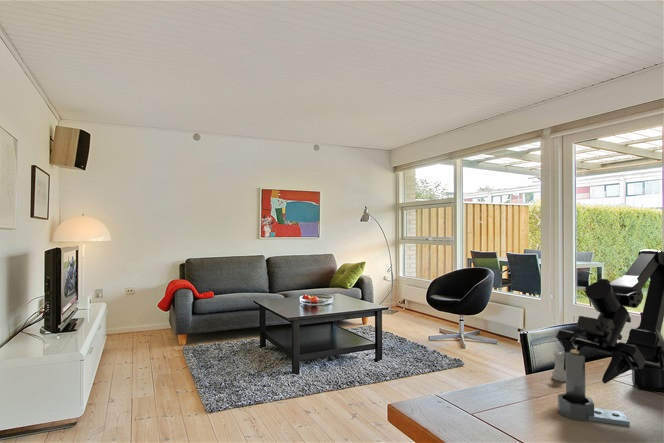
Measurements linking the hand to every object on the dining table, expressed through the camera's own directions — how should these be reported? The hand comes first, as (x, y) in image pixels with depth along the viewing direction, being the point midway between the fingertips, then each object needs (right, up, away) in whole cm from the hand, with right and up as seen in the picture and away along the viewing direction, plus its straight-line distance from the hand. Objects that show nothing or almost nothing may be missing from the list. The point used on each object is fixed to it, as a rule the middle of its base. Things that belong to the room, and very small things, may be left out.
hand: (583, 376), depth 101 cm
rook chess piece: (+6, -9, +22) cm, 24 cm away
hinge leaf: (0, -8, -3) cm, 9 cm away
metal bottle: (-3, -7, -2) cm, 8 cm away
